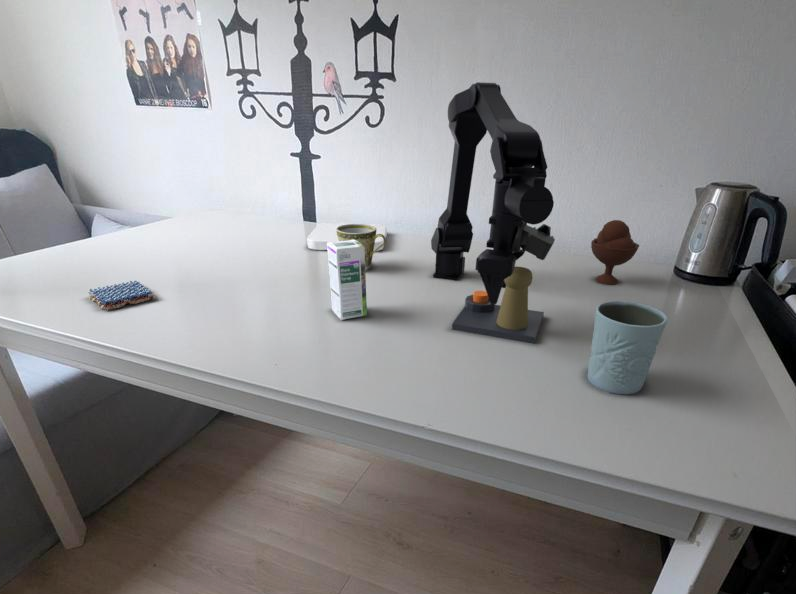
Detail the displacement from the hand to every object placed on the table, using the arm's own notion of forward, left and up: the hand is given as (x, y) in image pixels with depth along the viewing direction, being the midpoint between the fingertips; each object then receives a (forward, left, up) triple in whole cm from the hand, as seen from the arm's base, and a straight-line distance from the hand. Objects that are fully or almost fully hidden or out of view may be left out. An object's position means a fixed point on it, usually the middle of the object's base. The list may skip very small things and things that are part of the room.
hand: (498, 295), depth 93 cm
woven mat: (-78, -17, -7) cm, 80 cm away
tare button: (-5, +6, -4) cm, 9 cm away
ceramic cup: (-40, +23, -7) cm, 46 cm away
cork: (+3, 0, -6) cm, 6 cm away
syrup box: (-30, -5, -7) cm, 31 cm away
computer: (-55, +45, -7) cm, 71 cm away
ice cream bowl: (+20, +39, -7) cm, 44 cm away
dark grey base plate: (0, +2, -7) cm, 7 cm away
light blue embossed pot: (+22, -13, -7) cm, 27 cm away
